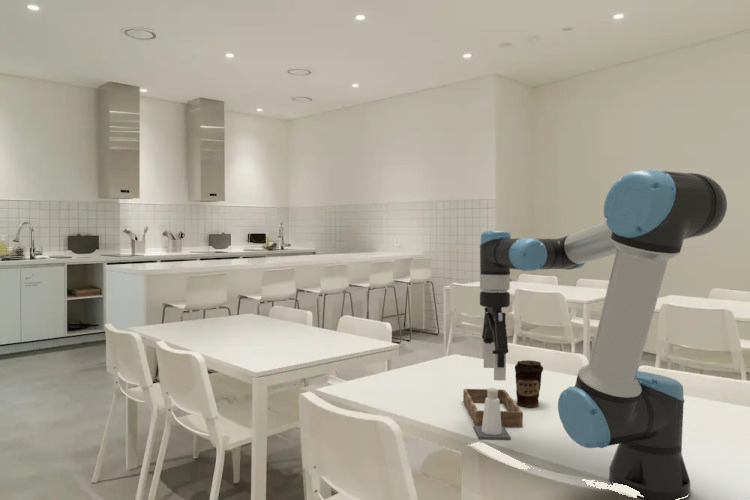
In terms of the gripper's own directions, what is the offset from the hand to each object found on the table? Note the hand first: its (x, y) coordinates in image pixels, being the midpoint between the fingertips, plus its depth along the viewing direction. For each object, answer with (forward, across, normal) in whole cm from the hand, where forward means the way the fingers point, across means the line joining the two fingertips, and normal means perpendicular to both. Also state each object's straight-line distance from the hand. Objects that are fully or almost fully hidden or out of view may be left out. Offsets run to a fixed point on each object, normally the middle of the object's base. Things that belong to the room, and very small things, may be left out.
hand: (493, 373), depth 144 cm
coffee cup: (+16, +26, -16) cm, 34 cm away
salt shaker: (+15, +1, 0) cm, 15 cm away
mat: (+16, +1, 0) cm, 16 cm away
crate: (+15, +17, -3) cm, 23 cm away
